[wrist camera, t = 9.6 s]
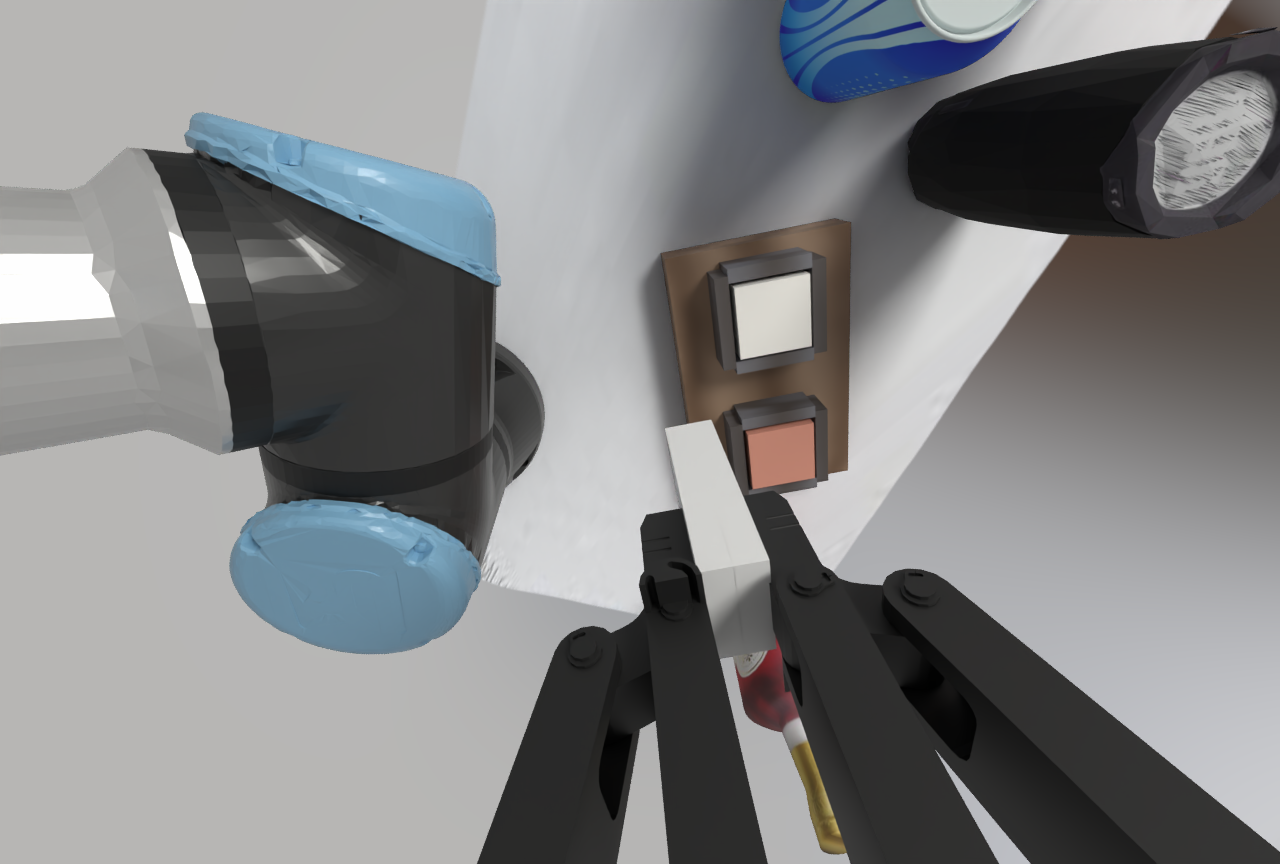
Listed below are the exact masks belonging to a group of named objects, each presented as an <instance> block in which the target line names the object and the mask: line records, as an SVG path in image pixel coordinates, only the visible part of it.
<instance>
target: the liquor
mask: <svg viewBox="0 0 1280 864" xmlns="http://www.w3.org/2000/svg"><path fill="white" fill-rule="evenodd" d="M733 659H734V664H735V668H736V673H737V678H738V682H739V687H740V692H741V697H742V702H743V707H744V710H745V713H746V715H747V716H748V717H749V718H750V719H751V720H752V721H753V722H754V723H756V724H759V725H760V726H763V727H765V728H768V729H771V730H774V731H778V732H782V733H783V735H784V738H785V740H786V743H787V745H788V748H789V750H790V753H791V755H792V758H793V760H794V762H795V765H796V767H797V770H798V772H799V775H800V777H801V780H802V782H803V784H804V787H805V790H806V793H807V800H808V805H809V811H810V816H811V820H812V823H813V826H814V829H815V832H816V835H817V838H818V841H819V845H820V848H821V850H822V851H823V852H826V853H828V854H844V853H847V852H846V849H845V846H844V843H843V840H842V837H841V834H840V831H839V829H838V826H837V823H836V820H835V817H834V814H833V811H832V809H831V806H830V803H829V800H828V797H827V794H826V791H825V788H824V786H823V783H822V780H821V777H820V774H819V771H818V768H817V765H816V763H815V760H814V757H813V754H812V751H811V748H810V745H809V743H808V740H807V737H806V734H805V731H804V728H803V725H802V722H801V720H800V717H799V714H798V711H797V708H796V705H795V702H794V700H793V697H792V694H791V691H790V692H785V688H784V678H783V664H782V653H781V650H780V647H779V644H778V641H777V639H776V649H773V650H767V651H761V652H756V653H750V654H744V655H738V656H733Z"/></svg>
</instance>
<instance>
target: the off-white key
mask: <svg viewBox="0 0 1280 864" xmlns="http://www.w3.org/2000/svg"><path fill="white" fill-rule="evenodd" d="M729 293H730V303H731V313H732V324H733V334H734V344H735V352H736V353H737V355H738V356H739V358H740V359H741V360H742V359H747V358H752V357H757V356H763V355H768V354H773V353H778V352H784V351H789V350H794V349H799V348H804V347H810V346H812V336H811V292H810V273H808V272H806V271H804V270H797V271H792V272H787V273H782V274H777V275H772V276H767V277H761V278H756V279H751V280H746V281H741V282H736V283H731V284H729Z"/></svg>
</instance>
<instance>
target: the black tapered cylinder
mask: <svg viewBox="0 0 1280 864" xmlns="http://www.w3.org/2000/svg"><path fill="white" fill-rule="evenodd" d="M1276 28H1277V27H1275V28H1258V29H1254V30H1249V31H1245V32H1241V33H1237V34H1233V35H1238V34H1251V33H1259V34H1255V35H1250V36H1246V37H1242V38H1233V37H1225V38H1216V39H1208V40H1199V41H1191V42H1182V43H1174V44H1165V45H1156V46H1149V47H1143V48H1137V49H1131V50H1125V51H1120V52H1114V53H1110V54H1105V55H1101V56H1096V57H1092V58H1087V59H1082V60H1078V61H1073V62H1069V63H1064V64H1060V65H1055V66H1051V67H1046V68H1042V69H1037V70H1032V71H1028V72H1023V73H1019V74H1014V75H1010V76H1007V77H1004V78H1001V79H998V80H995V81H992V82H989V83H986V84H983V85H980V86H977V87H974V88H971V89H968V90H966V91H963V92H961V93H958V94H956V95H955V96H952V97H949V98H947V99H944V100H941V101H939V102H937V103H936V104H935V105H934V106H933V107H932V108H931V109H930V110H929V111H928V112H927V113H926V114H925V115H924V116H923V117H922V118H921V119H920V120H919V121H918V123H917V125H916V127H915V129H914V131H913V133H912V135H911V137H910V140H909V142H908V146H909V150H910V154H909V156H908V175H909V178H910V181H911V185H912V188H913V191H914V194H915V196H916V199H917V200H919V201H921V202H923V203H925V204H927V205H929V206H931V207H933V208H935V209H941V210H943V211H946V212H948V213H951V214H954V215H956V216H959V217H962V218H964V219H968V220H973V221H978V222H983V223H988V224H995V225H1002V226H1008V227H1015V228H1022V229H1029V230H1035V231H1042V232H1049V233H1056V234H1069V235H1085V236H1111V237H1137V238H1138V237H1139V238H1158V239H1170V238H1180V237H1184V236H1188V235H1193V234H1197V233H1202V232H1206V231H1210V230H1215V229H1219V228H1222V227H1225V226H1228V225H1231V224H1234V223H1237V222H1239V221H1242V220H1245V219H1246V218H1247V217H1248V216H1250V215H1251V214H1252V213H1254V212H1255V211H1256V210H1257V209H1259V208H1260V207H1261V206H1263V205H1264V204H1265V203H1266V202H1268V201H1269V200H1271V199H1272V198H1273V197H1274V196H1276V195H1277V194H1278V193H1280V31H1276V30H1275V29H1276Z"/></svg>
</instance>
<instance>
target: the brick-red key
mask: <svg viewBox="0 0 1280 864" xmlns="http://www.w3.org/2000/svg"><path fill="white" fill-rule="evenodd" d="M743 437H744V448H745V458H746V468H747V477H748V480H749V482H750V484H751V486H752V488H753V489H758V488H763V487H768V486H774V485H779V484H785V483H790V482H796V481H801V480H807V479H812V478H815V458H814V423H813V422H812V420H811V419H810V418H807V419H802V420H796V421H791V422H786V423H780V424H775V425H770V426H764V427H759V428H754V429H748V430H743Z"/></svg>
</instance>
